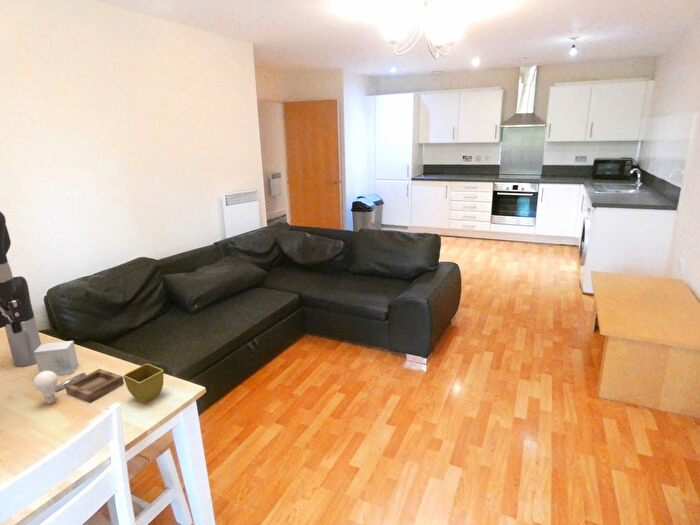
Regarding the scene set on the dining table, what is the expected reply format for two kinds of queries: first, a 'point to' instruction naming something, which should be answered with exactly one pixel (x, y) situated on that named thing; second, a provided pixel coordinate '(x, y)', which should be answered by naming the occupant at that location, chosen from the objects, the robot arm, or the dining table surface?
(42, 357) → the skincare box
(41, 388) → the lightbulb
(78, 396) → the brown wooden tray
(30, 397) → the dining table surface
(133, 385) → the flower pot
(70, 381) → the pin
